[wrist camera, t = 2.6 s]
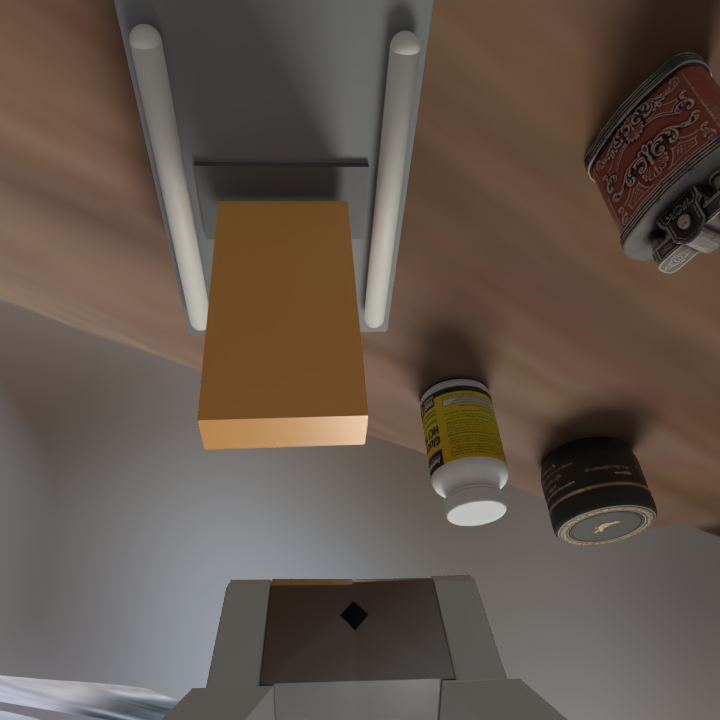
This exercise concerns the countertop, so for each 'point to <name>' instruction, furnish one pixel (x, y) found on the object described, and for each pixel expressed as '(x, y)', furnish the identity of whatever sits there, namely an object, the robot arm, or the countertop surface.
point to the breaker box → (279, 121)
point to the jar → (596, 492)
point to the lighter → (664, 164)
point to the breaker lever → (282, 329)
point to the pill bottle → (464, 451)
